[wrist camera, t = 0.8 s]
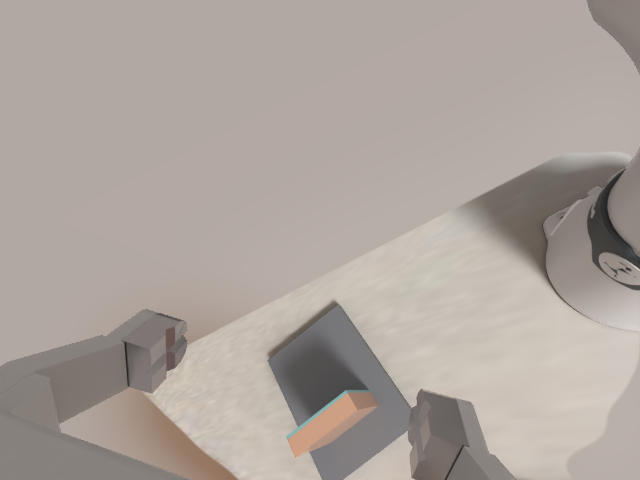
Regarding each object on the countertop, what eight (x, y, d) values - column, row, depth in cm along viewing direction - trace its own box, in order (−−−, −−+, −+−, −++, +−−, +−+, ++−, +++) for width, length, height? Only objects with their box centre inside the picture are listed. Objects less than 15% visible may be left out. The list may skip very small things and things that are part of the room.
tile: (369, 389, 39) (345, 390, 31) (379, 405, 38) (357, 409, 30) (321, 426, 40) (286, 436, 31) (330, 443, 39) (295, 457, 30)
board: (341, 306, 47) (338, 304, 46) (419, 420, 37) (418, 421, 36) (272, 361, 48) (267, 360, 47) (331, 487, 38) (327, 491, 36)
